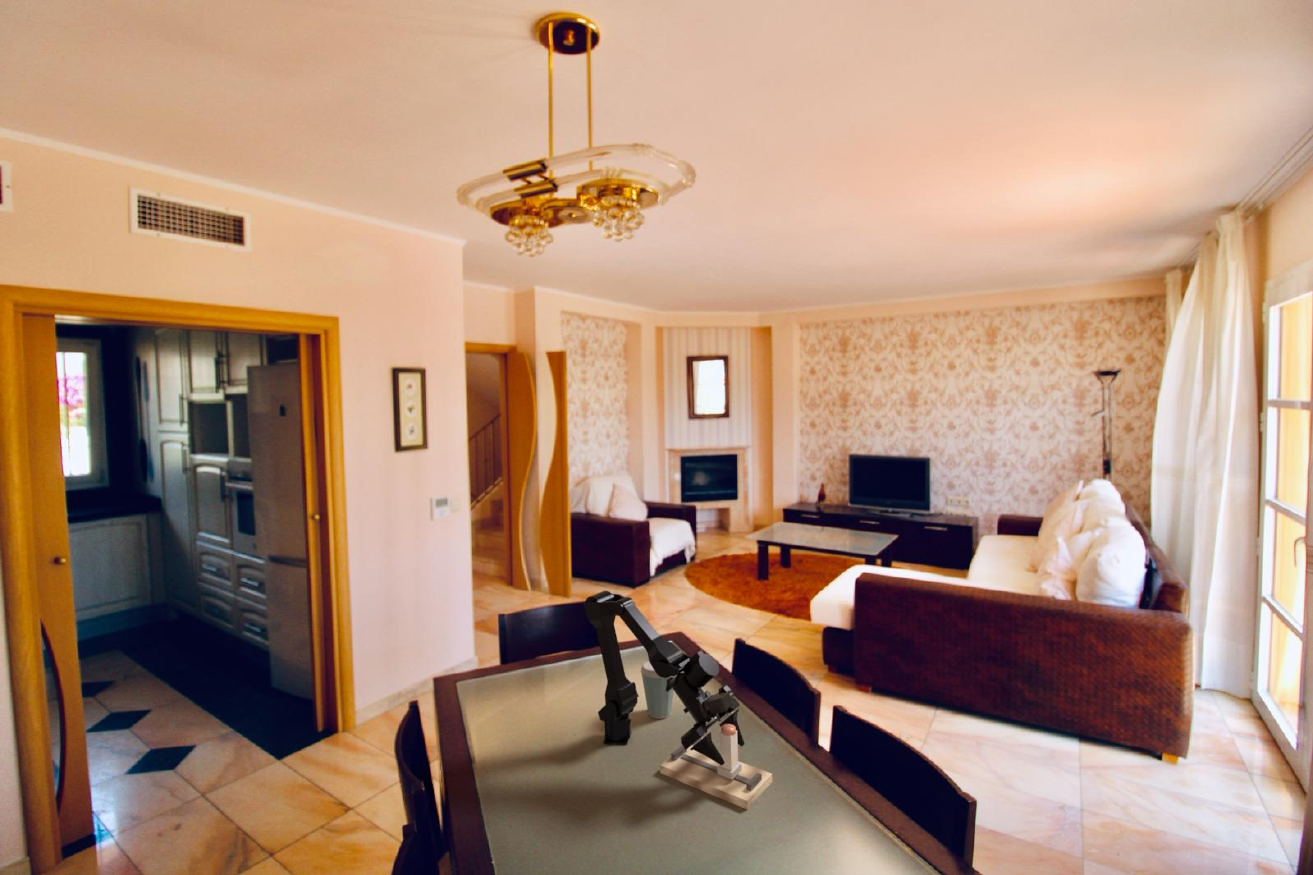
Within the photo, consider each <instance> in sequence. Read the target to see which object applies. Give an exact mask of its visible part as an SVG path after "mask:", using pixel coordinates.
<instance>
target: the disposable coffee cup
mask: <svg viewBox="0 0 1313 875" xmlns="http://www.w3.org/2000/svg"><path fill="white" fill-rule="evenodd" d="M640 673H641V678H642V684H643V689H644V690H643V691H644V695H645V701H646V708H647V713H648V714H649V716H650V717H651V718H654V719H658V720H659V719H665V718H668V717H670V715H671V714H672V713H671V712H672V710H673V709H672V708H673V700H674V693H675V691H674V690H673V689H671V690H670V691H668V692H667V691H666V685H667V680H668V679H669V678H671V677H673V678H674V677H675V676H670V677H668V678H663V677H662V678H661V677H659V676H658V675H657V674H656V672H655V671H654V669H653V667H652V666H651V664H650V662H649V660H648V661H646V662H644V663H643V664H642V666H641V668H640Z"/></svg>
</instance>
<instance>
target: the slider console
mask: <svg viewBox="0 0 1313 875" xmlns="http://www.w3.org/2000/svg"><path fill="white" fill-rule="evenodd" d="M692 747H693V745H691V746H690V747H689V748H688V749H686V750H685V748H684V747H683V745H682V744H681V745H680V746H679V747H678V748H676V749H675V750H674V751H673V752H671V754H670V756H669V757H668V758H667V759H666V760H664V761H663V762H662V763H661V764H659V773H660V774H661V775H664V776H666V777H669V778H671V779H674V780H676V781H679V782H681V783H683V784H685V785H688V786H691V787H693V788H695V789H697V790H700V791H702V792H704V793H707V794H709V795H712V796H713V797H717V798H719V799H721V800H723V801H725V802H728V803H730V804H732V805H736V806H737V807H740V808H743V809H744V810H749V809H750V807H752V805H753V804H754V803H755V802H756V801H757V800H758V798H760V797H761V795H762V794H763V793H764V792H765V791H766V790H767V788H769V786H770V785H771V784H772V783H773V773H770V772H769V771H766V770H763V769H760V768H758V767H755V766H754V765H753V766H752V765H749V764H747V763H744V762H742V761H739V760H738V763H741V765H742V770H741V771H740V772H739V774H738V775H737V776H736V777H735V778H734V779H733V780H731V779H729V778H726V777H724V776H721V775H719V774H717V767H718V766H719V765H720V764H718V763H716V762H715V761H713V760H712V759H710V758H708V757H707V756H705V755H703V754H701V753H699V752H697V751H695V750H692V751H691V750H690V749H691V748H692Z"/></svg>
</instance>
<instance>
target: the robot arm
mask: <svg viewBox="0 0 1313 875" xmlns="http://www.w3.org/2000/svg"><path fill="white" fill-rule="evenodd" d="M583 607H584V608H583V609H584V611H585V614H586V618H587V619H588V621H589V623H590V624H591V625H592V626H593V627H594V628H595V630H596V635H597V639H598V643H599V645H598V646H599V648H600V654H601V657H602V662H603V666H604V672H605V675H606V677H605V678H606V680H607V684H606V688H605V692H604V703H605V705H603V706H602V707H601V709H599V710H598V712H597V714H598V718H599V721H601V722H603V723H604V724H603V725H604V726H603V727H604V739H603V741H602V743H603V744H607V745H628V743H629V740H631V736H632V733H633V732H632V719H631V718H630V713H633V711H634V709H635V707H636V706H637V704H638V700H639V699H638V698H639V696H640V695H639V694H638V691H637V684H636V683H635V682H634V681H633V682H631V681H630V680H629V679H628V678H627V676H626V672H625V667H624V663H623V660H622V659H623V658H622V654H621V650H620V645H619V642H618V637H617V632H616V627H615V620H616V617H617V616H618V617H620V619H621V620H622V621H623V623H624V625H626V627H627V628H628V629H629V630H630V632H631V633H632V634H633V635H634V637H635V638H636V639H637V640H638V642H639V643H640V644H641V646H642V647H643V648H644V649H645V651H646V653H647V657H648V661H649V662H650V664H651V666H652V667H653V669H654V671H655V672H656V674H657V675H658V676H659V677H661V678H662V677H663V678H668V677H670V676H675V677H674V678H673V677H671V678H669V679H668V680H667V685H666V691H667V692H668V691H670V690H671V689H673V690H674V693H675V694H676V695H677V697H678V699H679V700H680V701H681V703H682V704H683V706H684V707H685V708H684V709H683V713H684V714H685V715H686V714H687V713H689V714H690V716H691V717H692V719H693V721H694V722H695V723H694V724H693V726H692V727H691V728H690V729H688V731H687V732H685V734H683V735H682V736H680V744H681V746H682V745H683V747H684V748H685V750H686V749H688V748H689V747H690V746H691V745H693V747H692V748H691V749H690V750H691V751H692V750H695V751H697V752H699V753H701V754H703V755H705V756H707V757H708V758H710V759H712V760H713V761H715V762H716V763H718V764H720V765H723V764H724V763H725V762H724V760H723V758H722V756H721V755H720V751H719V750H718V749H717V747H716V745H715V744H714V742H713V740H712V732H711V731H710V732H709V733H708V729H709V728H711V727H712V726H713V725H715V724H716V723H717V722H719V724H718V726H719V727H720V728H721V726H722V725H724V724H732V725H734V726H735V727H736V731H737V740H738V745H739V747H744V746H745V742H744V738H743V735H742V731H741V729H740V727H739V726H740V725H739V722H738V714H739V711H740V710H739V708H738V707H740V706H741V704H740V703H739V702H738V700H737V699H736V698H734V696H735V693H734V692H733V690H732V689H731V688H730V687H729V686H728V685H726V684H725V685H721V687H719V688H718V692H717V693H715V694H712V693H711V692H710V691H709V690H706V691H705V692H704V690H703V689H702V688H704V687H705V686H706V685H707V684H708V683H710V681H712V680H713V679H714V678H715V677H716V676H717V675H718V674H719V672H720V665H719V663H718V661H717V660H716V658H713V656H711V655H710V654H708V653H704V652H703V650H699V651H696V653H694V654H693V656H690V655H688V654H686V653H683V651H682V650H680V649H679V648H678V647H677V646H676V645H675V644H674V643H673V642H671V641H669V640H666V639H664V638H663V637H662V636H661V635H660V634H659V632H658V631H657V630H656V629H655V628H654V626H653V625H652V624H651V623H650V621H649V620H648V619H647V617H646V616H644V614H643V613H642V612H641V610H640V609H639V608H638V607H637V606H636V603H635V600H634V599H633V598H631V597H629V596H624V595H622V594H619V593H611V591H609V590H603V591H601V592H597V593H596V594H593V595H590V596H587V598H585V601H584V603H583ZM720 722H721V723H720ZM707 733H708V734H707Z"/></svg>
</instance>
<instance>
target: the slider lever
mask: <svg viewBox="0 0 1313 875" xmlns="http://www.w3.org/2000/svg"><path fill="white" fill-rule="evenodd" d="M738 745H739V744H738V740H737V731H736V727H735V726H734V725H732V724H724V725H722V726H721V727H720V732H719V753H720V755H721V756H722V758H723V760H724V762H725V763H724V764H723V765H719V766H718V767H717V774H719V775H721V776H724V777H726V778H729V779H731V780H733V779H734V778H735V777H736V776H737V775H738V774H739V772H740V771H741V770H742V765H741V763H738V761H739V747H738Z"/></svg>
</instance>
